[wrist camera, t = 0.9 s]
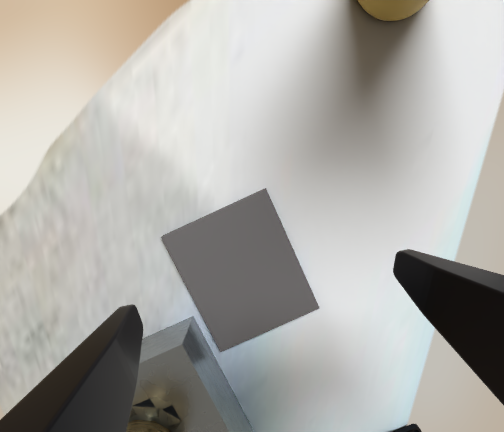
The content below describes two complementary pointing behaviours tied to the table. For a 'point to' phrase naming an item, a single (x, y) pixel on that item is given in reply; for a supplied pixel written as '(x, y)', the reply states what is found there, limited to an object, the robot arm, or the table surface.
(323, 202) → the table surface
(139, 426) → the end cover
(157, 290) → the table surface
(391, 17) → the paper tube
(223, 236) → the rubber mat
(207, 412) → the housing
